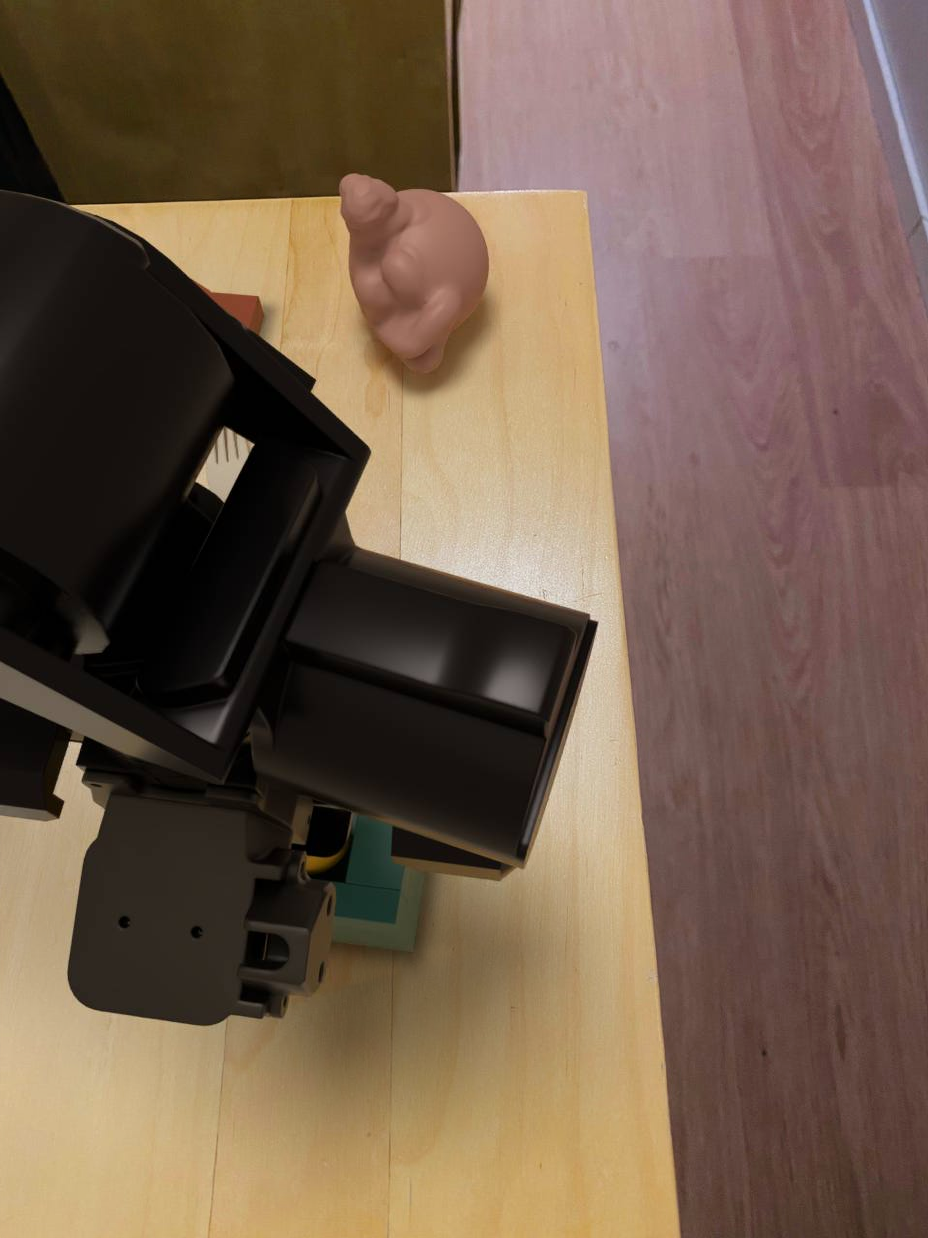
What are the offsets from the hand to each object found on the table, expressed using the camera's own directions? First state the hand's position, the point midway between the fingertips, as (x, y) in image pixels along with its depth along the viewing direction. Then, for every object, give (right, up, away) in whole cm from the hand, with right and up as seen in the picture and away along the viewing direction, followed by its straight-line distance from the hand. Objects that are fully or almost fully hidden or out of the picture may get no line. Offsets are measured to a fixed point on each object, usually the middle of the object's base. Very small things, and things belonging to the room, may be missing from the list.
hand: (291, 809), depth 40 cm
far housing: (-12, +25, +26) cm, 38 cm away
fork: (-6, +12, +20) cm, 24 cm away
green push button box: (0, -5, +11) cm, 13 cm away
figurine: (+4, +27, +27) cm, 38 cm away
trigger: (0, -2, +4) cm, 4 cm away
